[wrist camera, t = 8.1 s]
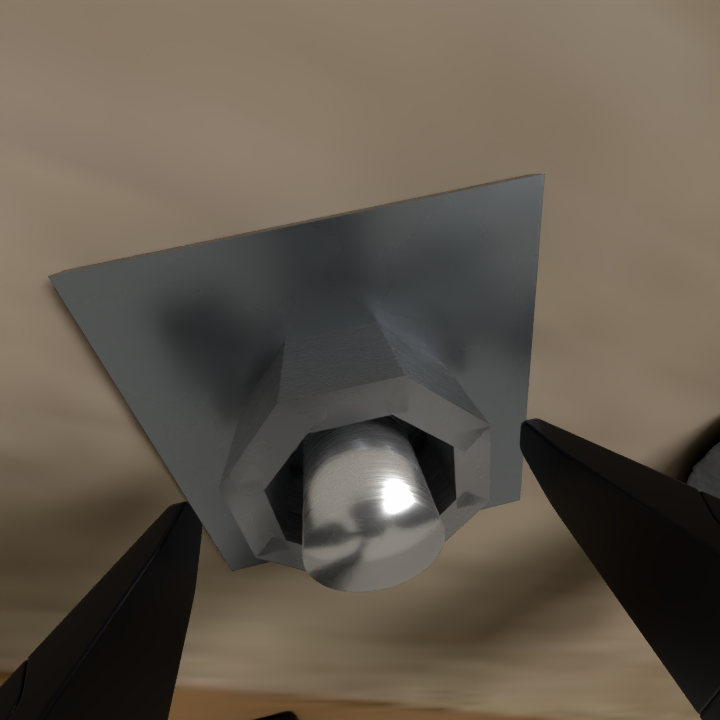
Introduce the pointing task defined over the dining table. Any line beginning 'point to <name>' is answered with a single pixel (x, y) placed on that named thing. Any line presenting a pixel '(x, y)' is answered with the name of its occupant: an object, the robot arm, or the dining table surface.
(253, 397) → the ring
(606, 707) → the dining table surface
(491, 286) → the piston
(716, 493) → the moka pot
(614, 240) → the dining table surface
